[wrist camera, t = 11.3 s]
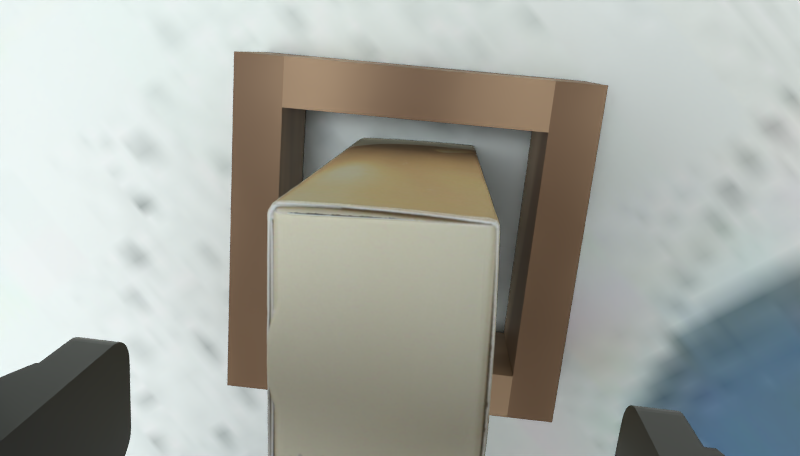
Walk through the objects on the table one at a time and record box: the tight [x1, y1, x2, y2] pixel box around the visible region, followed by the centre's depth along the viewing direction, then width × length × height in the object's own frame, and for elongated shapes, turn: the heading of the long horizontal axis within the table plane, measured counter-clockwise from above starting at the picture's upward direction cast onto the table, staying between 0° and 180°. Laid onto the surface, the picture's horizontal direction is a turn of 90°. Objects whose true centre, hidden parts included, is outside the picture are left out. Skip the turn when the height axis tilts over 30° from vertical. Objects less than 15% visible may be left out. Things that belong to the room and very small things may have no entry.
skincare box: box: [267, 138, 500, 456], centre depth 18 cm, size 6×4×12 cm
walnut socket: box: [227, 52, 608, 422], centre depth 22 cm, size 11×11×4 cm
